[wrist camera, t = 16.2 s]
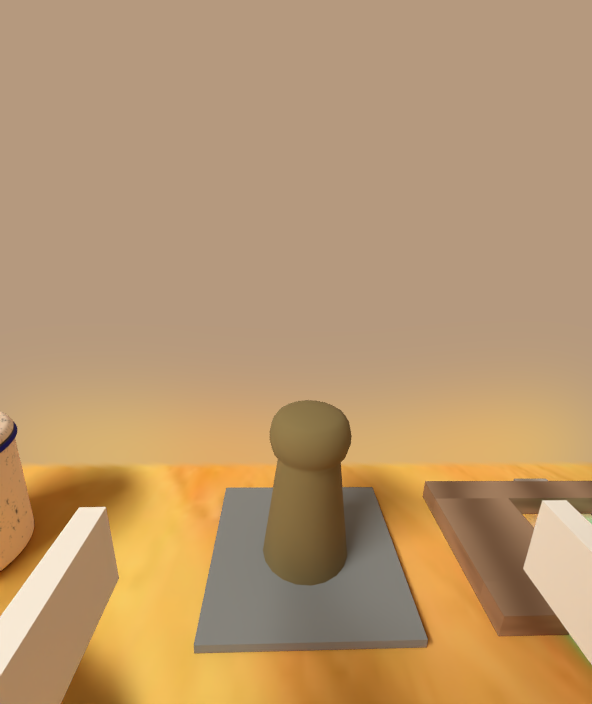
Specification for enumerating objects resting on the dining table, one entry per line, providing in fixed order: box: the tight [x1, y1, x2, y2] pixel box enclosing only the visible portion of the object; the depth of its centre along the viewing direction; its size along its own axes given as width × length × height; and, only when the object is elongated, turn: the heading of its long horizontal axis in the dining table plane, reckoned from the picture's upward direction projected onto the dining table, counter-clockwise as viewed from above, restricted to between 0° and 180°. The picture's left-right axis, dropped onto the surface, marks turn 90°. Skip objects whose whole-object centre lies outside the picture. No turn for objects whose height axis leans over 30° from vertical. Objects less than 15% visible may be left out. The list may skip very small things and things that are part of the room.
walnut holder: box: [423, 479, 592, 636], centre depth 28 cm, size 20×13×2 cm, turn 92°
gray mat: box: [194, 487, 428, 653], centre depth 27 cm, size 13×13×1 cm
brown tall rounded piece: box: [263, 400, 351, 586], centre depth 25 cm, size 6×6×11 cm
